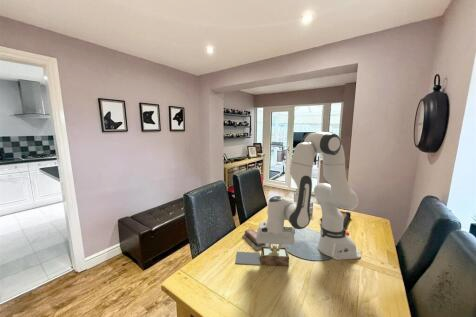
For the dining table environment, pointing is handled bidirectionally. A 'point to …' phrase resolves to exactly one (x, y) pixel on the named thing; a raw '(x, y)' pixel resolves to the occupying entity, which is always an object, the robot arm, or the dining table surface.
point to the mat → (248, 258)
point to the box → (274, 258)
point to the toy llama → (310, 202)
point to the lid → (274, 251)
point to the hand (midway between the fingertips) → (274, 250)
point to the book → (346, 218)
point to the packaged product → (253, 239)
